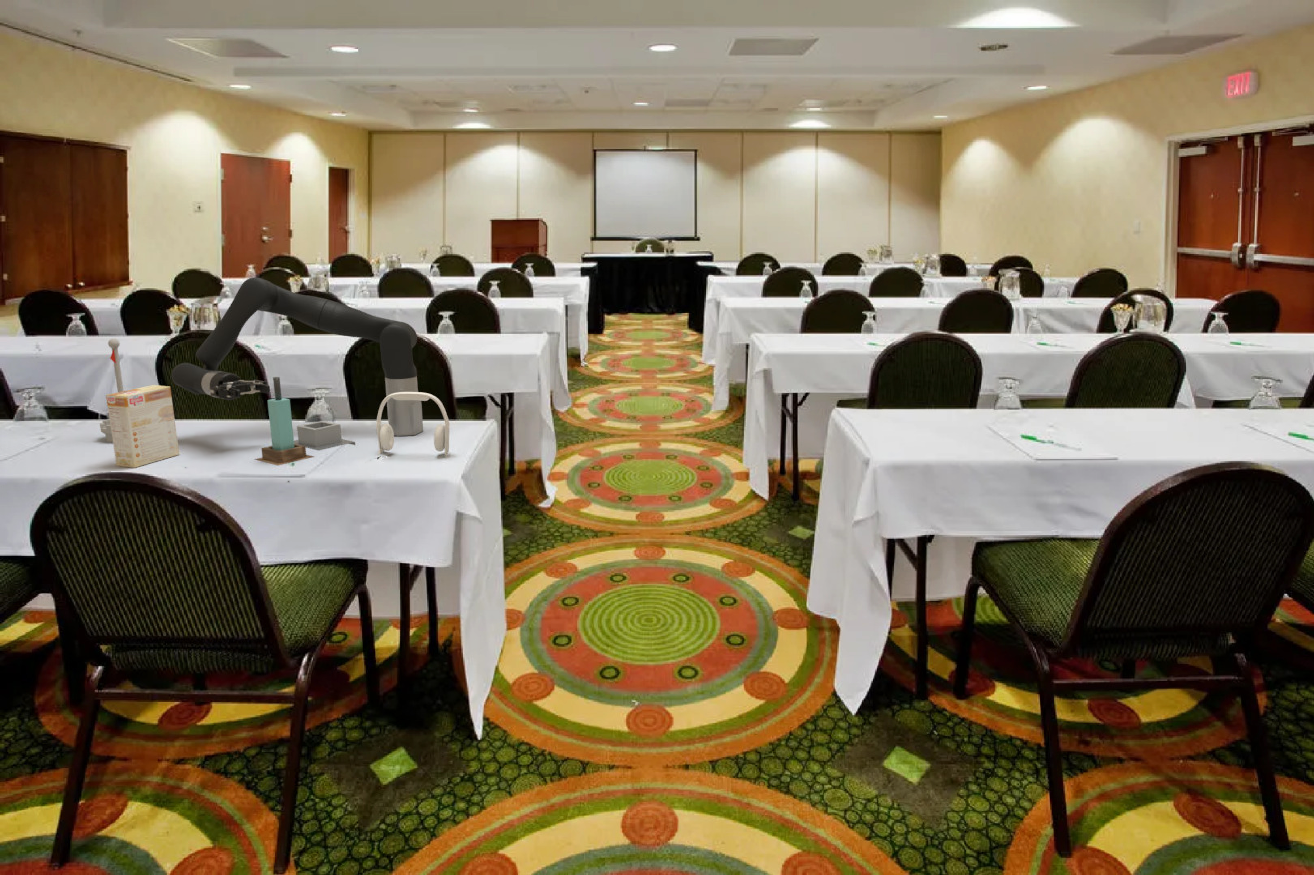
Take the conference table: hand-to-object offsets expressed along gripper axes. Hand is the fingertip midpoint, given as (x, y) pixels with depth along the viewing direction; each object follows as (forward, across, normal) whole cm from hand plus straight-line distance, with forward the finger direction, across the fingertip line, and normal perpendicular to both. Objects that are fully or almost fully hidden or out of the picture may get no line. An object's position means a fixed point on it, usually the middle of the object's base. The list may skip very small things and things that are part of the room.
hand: (253, 391), depth 260 cm
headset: (+35, +25, +18) cm, 47 cm away
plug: (+12, 0, +17) cm, 20 cm away
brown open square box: (+12, 0, +18) cm, 21 cm away
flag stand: (-53, -11, +19) cm, 57 cm away
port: (+4, +17, +18) cm, 25 cm away
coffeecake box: (-21, -20, +19) cm, 35 cm away
